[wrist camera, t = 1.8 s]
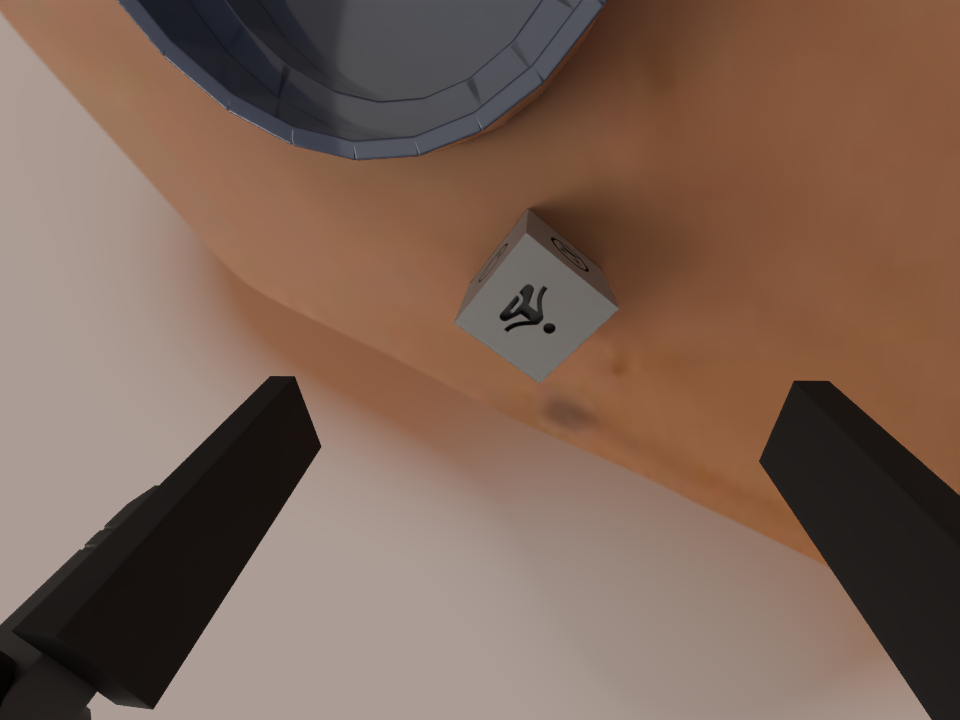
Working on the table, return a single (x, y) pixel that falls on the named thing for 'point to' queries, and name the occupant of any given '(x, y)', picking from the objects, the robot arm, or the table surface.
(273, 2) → the blue round bowl
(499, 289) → the dice cube
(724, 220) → the table surface
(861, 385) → the table surface
